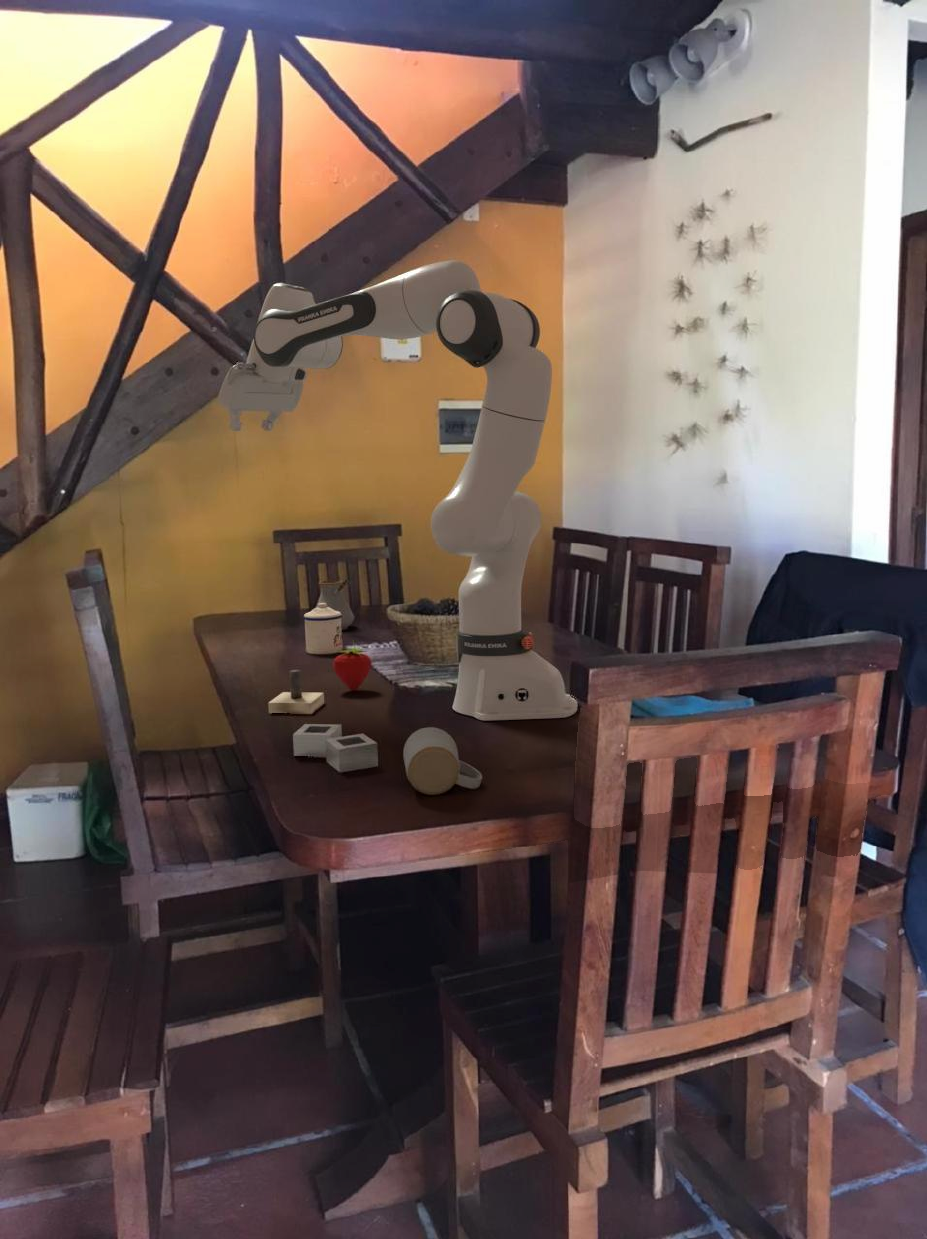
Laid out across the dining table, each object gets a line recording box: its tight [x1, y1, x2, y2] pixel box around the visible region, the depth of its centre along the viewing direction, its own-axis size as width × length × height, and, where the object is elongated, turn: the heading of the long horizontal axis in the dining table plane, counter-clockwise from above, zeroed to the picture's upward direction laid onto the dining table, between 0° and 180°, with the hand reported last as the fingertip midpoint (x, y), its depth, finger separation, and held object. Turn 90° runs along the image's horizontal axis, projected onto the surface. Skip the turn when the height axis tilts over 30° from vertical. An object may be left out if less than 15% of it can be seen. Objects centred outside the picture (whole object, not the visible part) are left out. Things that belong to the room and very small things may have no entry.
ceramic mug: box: [402, 726, 483, 796], centre depth 133 cm, size 11×8×8 cm
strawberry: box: [332, 639, 372, 692], centre depth 191 cm, size 6×8×10 cm
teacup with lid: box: [303, 603, 343, 655], centre depth 233 cm, size 12×9×12 cm
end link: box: [292, 723, 343, 758], centre depth 151 cm, size 6×6×4 cm
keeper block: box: [267, 669, 325, 715], centre depth 178 cm, size 8×8×7 cm
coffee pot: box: [315, 579, 355, 631], centre depth 259 cm, size 21×12×15 cm, turn 22°
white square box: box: [325, 733, 379, 774], centre depth 144 cm, size 6×6×4 cm
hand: (250, 429), depth 197 cm, fingers open, 8 cm apart
